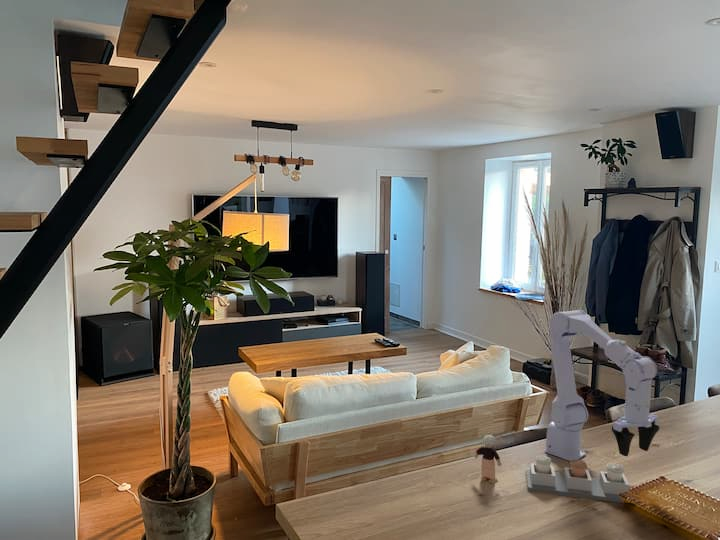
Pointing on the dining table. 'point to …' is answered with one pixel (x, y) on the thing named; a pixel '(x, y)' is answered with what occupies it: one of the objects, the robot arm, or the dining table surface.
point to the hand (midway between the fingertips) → (633, 452)
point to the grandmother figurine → (488, 459)
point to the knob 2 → (614, 472)
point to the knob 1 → (543, 464)
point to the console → (576, 484)
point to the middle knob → (578, 468)
